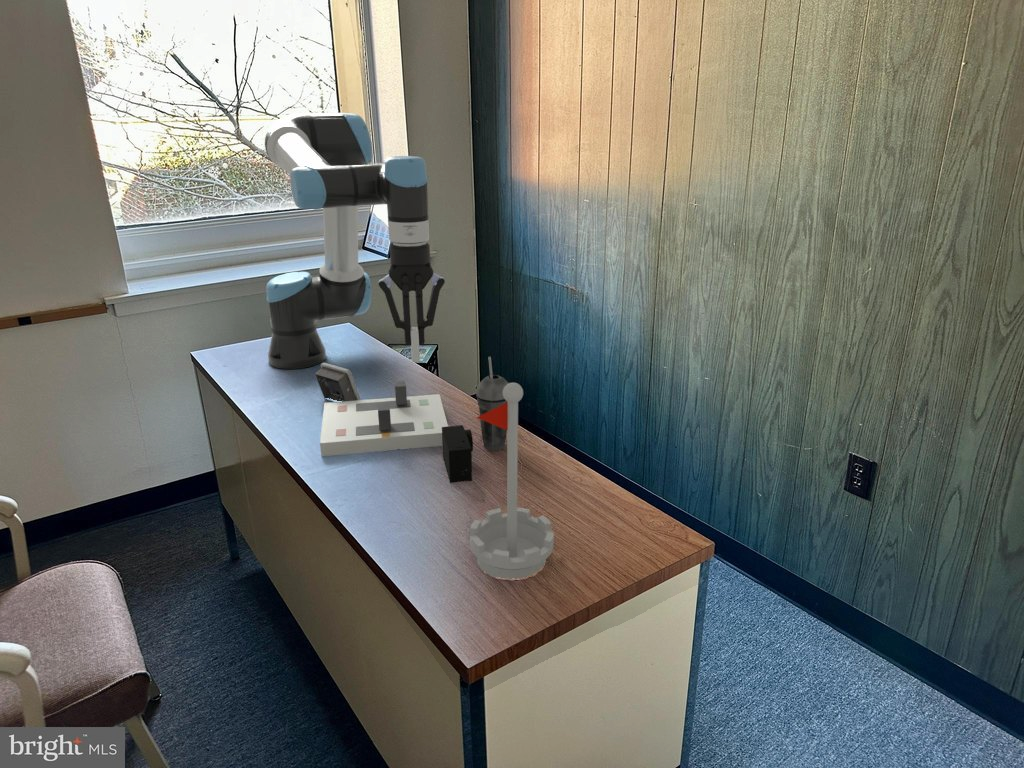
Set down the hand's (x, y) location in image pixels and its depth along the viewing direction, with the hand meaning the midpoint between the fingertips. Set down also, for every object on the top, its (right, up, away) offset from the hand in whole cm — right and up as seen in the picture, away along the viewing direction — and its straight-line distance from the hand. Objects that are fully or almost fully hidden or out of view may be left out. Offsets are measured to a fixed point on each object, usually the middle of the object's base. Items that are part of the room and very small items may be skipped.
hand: (415, 359), depth 140 cm
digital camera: (+9, -22, -4) cm, 24 cm away
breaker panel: (-8, -15, +11) cm, 20 cm away
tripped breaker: (-7, -14, +4) cm, 16 cm away
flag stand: (+19, -33, -31) cm, 49 cm away
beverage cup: (+16, -18, +4) cm, 24 cm away
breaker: (-5, -9, +16) cm, 19 cm away
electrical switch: (-21, -9, +25) cm, 34 cm away
